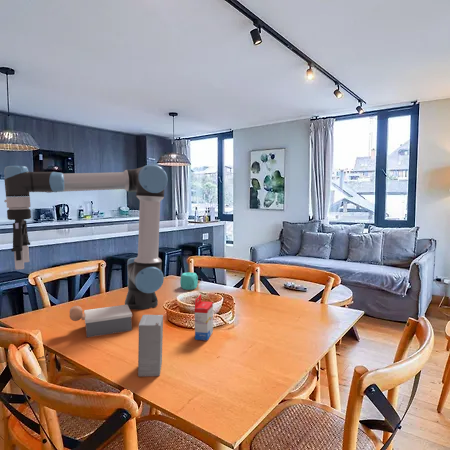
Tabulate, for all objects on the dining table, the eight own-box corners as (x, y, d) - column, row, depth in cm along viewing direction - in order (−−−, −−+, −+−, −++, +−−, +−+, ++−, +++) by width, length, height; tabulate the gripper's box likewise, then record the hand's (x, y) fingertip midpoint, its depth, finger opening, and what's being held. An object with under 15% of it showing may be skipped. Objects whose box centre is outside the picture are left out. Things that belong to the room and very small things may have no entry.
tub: (127, 321, 143) (126, 307, 143) (131, 331, 132) (131, 316, 132) (85, 327, 137) (85, 312, 136) (86, 339, 126) (86, 323, 125)
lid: (127, 306, 143) (127, 296, 143) (132, 316, 131) (131, 305, 131) (70, 314, 134) (69, 303, 134) (69, 325, 123) (69, 313, 122)
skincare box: (141, 363, 107) (140, 314, 106) (164, 362, 108) (163, 313, 106) (137, 378, 99) (135, 324, 97) (162, 376, 99) (161, 323, 98)
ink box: (207, 341, 123) (207, 301, 122) (194, 340, 124) (193, 300, 123) (213, 331, 132) (212, 294, 130) (200, 330, 133) (200, 293, 131)
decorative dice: (180, 289, 190) (180, 275, 189) (184, 285, 198) (184, 272, 197) (194, 290, 189) (194, 275, 188) (198, 286, 197) (197, 272, 196)
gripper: (12, 207, 137) (16, 260, 139) (-1, 210, 114) (4, 273, 116) (34, 207, 140) (37, 258, 142) (25, 209, 117) (29, 271, 119)
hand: (22, 265), depth 129 cm, fingers open, 13 cm apart
